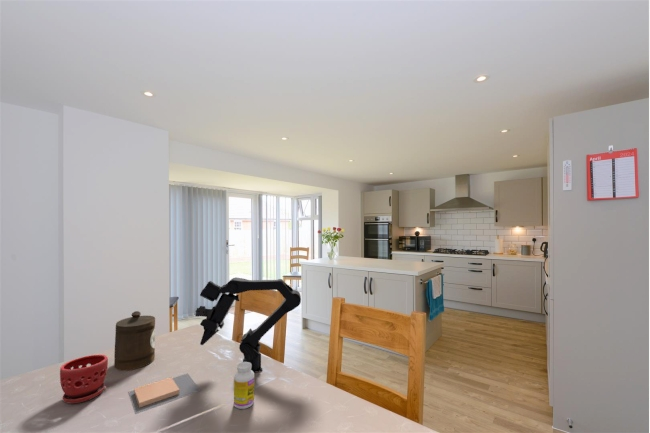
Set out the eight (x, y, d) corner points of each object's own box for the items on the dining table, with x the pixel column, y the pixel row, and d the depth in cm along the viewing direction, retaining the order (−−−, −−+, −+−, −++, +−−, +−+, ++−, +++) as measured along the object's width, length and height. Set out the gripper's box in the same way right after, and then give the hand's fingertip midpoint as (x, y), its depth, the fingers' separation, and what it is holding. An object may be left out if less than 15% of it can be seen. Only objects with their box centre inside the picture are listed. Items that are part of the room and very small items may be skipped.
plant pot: (116, 389, 108) (116, 355, 109) (75, 410, 96) (76, 373, 96) (91, 382, 113) (92, 351, 113) (49, 402, 100) (50, 366, 101)
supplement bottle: (248, 411, 96) (248, 370, 96) (229, 408, 97) (230, 368, 97) (257, 399, 102) (257, 361, 102) (239, 396, 103) (240, 359, 104)
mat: (187, 374, 118) (187, 373, 118) (201, 392, 106) (201, 390, 106) (128, 393, 105) (128, 391, 105) (135, 415, 93) (135, 413, 93)
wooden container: (161, 360, 132) (162, 310, 132) (124, 374, 119) (125, 319, 120) (144, 352, 139) (144, 305, 140) (107, 364, 127) (108, 313, 127)
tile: (171, 377, 112) (134, 388, 104) (179, 389, 104) (139, 402, 96) (171, 381, 112) (134, 393, 104) (179, 394, 104) (139, 408, 96)
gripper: (209, 298, 130) (189, 333, 125) (199, 297, 112) (175, 338, 107) (232, 310, 130) (212, 345, 125) (226, 310, 113) (203, 351, 107)
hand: (201, 344), depth 116 cm, fingers closed
